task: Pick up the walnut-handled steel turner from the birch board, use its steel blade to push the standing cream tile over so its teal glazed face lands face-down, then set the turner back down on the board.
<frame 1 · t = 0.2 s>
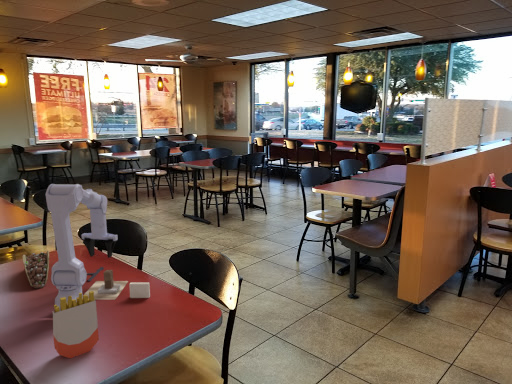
hand: (101, 256, 161), 10 cm above the table, tool pointing down, fingers open, 7 cm apart
tile: (140, 298, 146), on the table
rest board: (105, 291, 152), on the table
bracket: (80, 277, 166), on the table
taco: (38, 277, 165), on the table
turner: (109, 290, 151), resting on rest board
french fries container: (77, 351, 114), on the table
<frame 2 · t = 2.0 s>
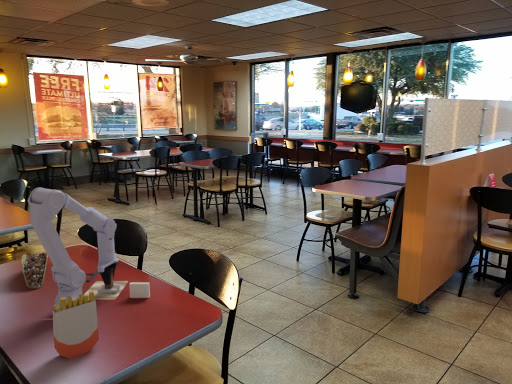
hand: (108, 282, 150), 4 cm above the table, tool pointing down, fingers closed on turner, 2 cm apart
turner: (109, 290, 151), resting on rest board, touching gripper
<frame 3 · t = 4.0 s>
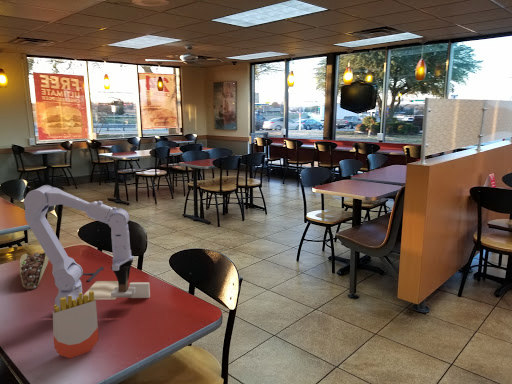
hand: (123, 282, 137), 10 cm above the table, tool pointing down, fingers closed on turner, 2 cm apart
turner: (123, 294, 138), point 5 cm above the table, touching gripper
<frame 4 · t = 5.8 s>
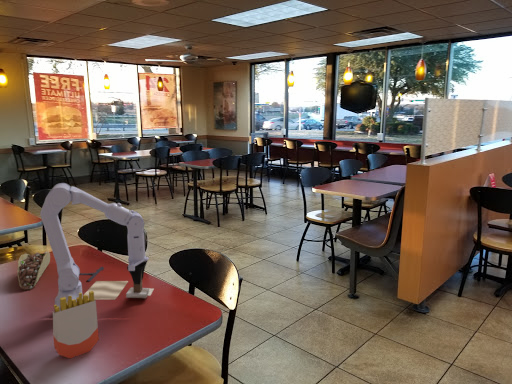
hand: (138, 281, 144), 7 cm above the table, tool pointing down, fingers closed on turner, 2 cm apart
tile: (141, 297, 147), on the table, tilted 91°
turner: (138, 294, 145), point 2 cm above the table, touching gripper
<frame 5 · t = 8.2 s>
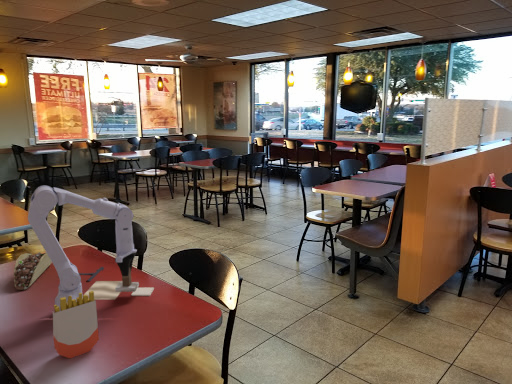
hand: (126, 274, 145), 9 cm above the table, tool pointing down, fingers closed on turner, 2 cm apart
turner: (127, 288, 146), point 4 cm above the table, touching gripper
when the fingers open (5 cm above the table, at t = 10.1 s): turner stays where it is, resting on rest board.
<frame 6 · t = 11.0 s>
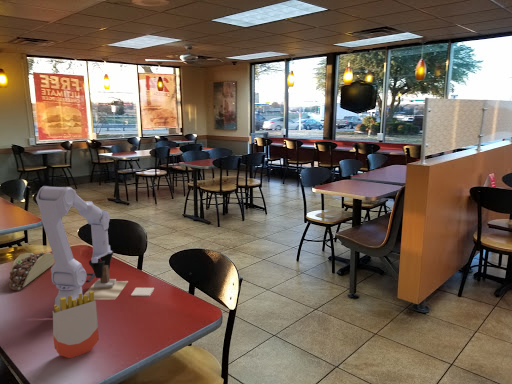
hand: (102, 273, 155), 5 cm above the table, tool pointing down, fingers open, 7 cm apart
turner: (105, 285, 156), resting on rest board
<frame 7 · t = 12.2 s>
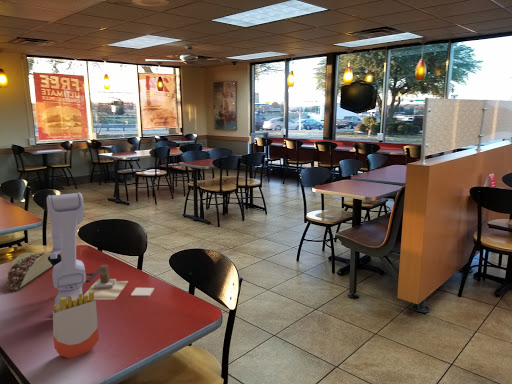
hand: (64, 270, 148), 9 cm above the table, tool pointing down, fingers open, 7 cm apart
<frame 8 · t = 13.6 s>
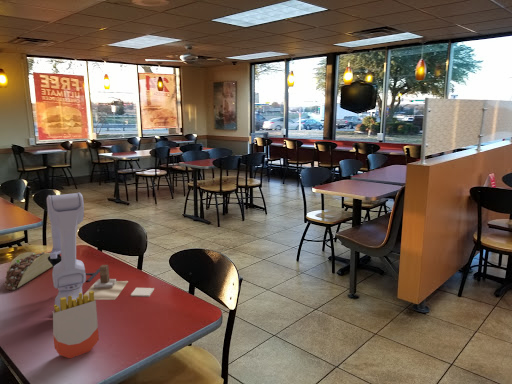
hand: (64, 270, 148), 9 cm above the table, tool pointing down, fingers open, 7 cm apart
at the end: tile tilted 90°; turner inside the target area (0.6 cm from its centre), point 0.5 cm above the table; the gripper is holding nothing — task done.
